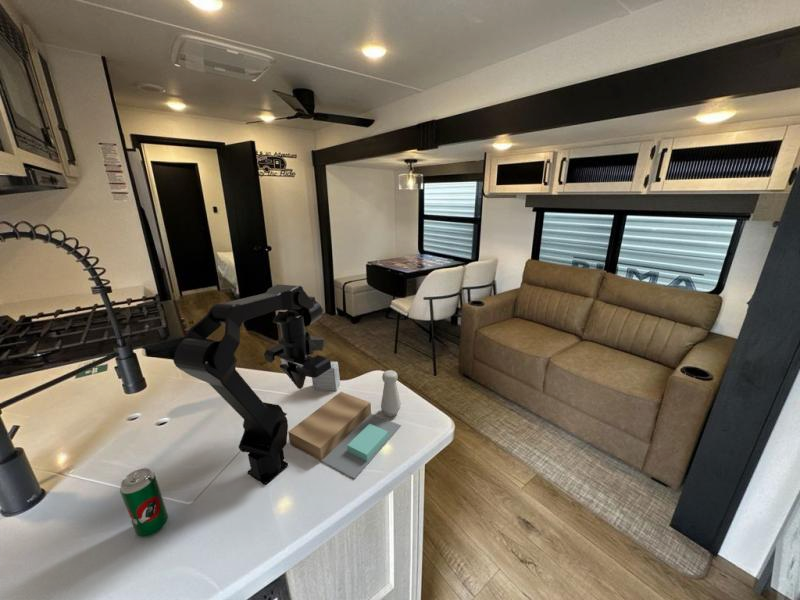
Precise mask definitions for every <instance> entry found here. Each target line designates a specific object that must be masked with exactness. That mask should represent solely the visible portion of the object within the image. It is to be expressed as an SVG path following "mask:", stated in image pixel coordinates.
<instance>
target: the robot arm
mask: <svg viewBox="0 0 800 600" xmlns="http://www.w3.org/2000/svg"><path fill="white" fill-rule="evenodd" d="M273 312H278V313H277V314H276V315H275V316H274V318H273V320H272V322H273V323H274V324H275V323H277V324H279V327H280V337H281V338H279V339H277V340H278V343H277V344H275V345H273V346H271V347H269V348H267V349H266V350H265V351H264V353H263V356H264V360H265V361H267V362H268V363H274V361H275V357H278V358H279V360H280V361H281V364H280V365H279V368H280V369H281V370H282V371H283V372H284V373H285V374H286V376H287V377H288V378H289V379H290V380H291V382H292V383H293V384H294V386H295V387H296V388H297V389H298V390H301V389H303V388H304V385H305V381H306V377H309V378H311V379H312V378H316V377H318V376H319V375H321V374H323V373H324V372H326V371H327V370H329V369H330V368H331V362H332V361H331V359H330V358H328V357H325V356H322V355H319V354H318V355H315V356H314V357H313V356H311V355H314V352H315V351H320V352H322V351H323V350H324V345H325V338H323V337H318V336H316V335H312V334H310V332H308V331H306V328H307V327H309V326H310V325H312V324H313V323H315V322H316V321H318V320H319V319H321V318H322V317H323V314H324V310H323V307H322V305H321V304H320V303H319V302H318V301H316V298H315V296H308V294H307V293H306V291H304V287H303V286H301V285H291V284H280V283H279V284H276V285H274V286H272V287H269V288H268V289H267V291H266V292H264V293H261V294H257V295H256V294H255V295H251V296H247V297H244V298H240V299H235V300H234V299H233V300H231V301H226V302H218V303H215V304H213V305H212V306H211V307H210V309H209V311H208V312H207V313H206V315H205V316H204V317H202V319H200V320H199V321H198V322H196V323H195V324H194V325H193V326H191V327H190V329H188V331H187V332H186V333H185V336H183V338H182V340H181V342H180V343H178V345H177V347H176V349H175V352H174V357H173V358H172V361H173V363H174V365H175V368H177V369H179V370H181V372H184V373H185V374H187V375H189V376H191V377H193V378H195V379H198V380H200V381H202V382H205V383H207V384H209V386H210V387H211V388H213V390H215V392H217V394H219V395H220V396H221V398H223V400H224V401H225V402H226V403H227V404H228V405H229V406H230V407H231V408H232V409H233V410H234V411H235V412H236V413H237V414H238V415H239V416H240V417H241V418H242V419H243V423H242V427H243V429H244V430H243V433H242V437H241V439H240V441H239V444H238V449H239V450H240V451H241V452H242V453H247V457H248V462H249V466H250V469H249V470H248V471H247V475H249V476H250V477H252V478H253V479H255V480H256V481H257V482H259V483H261V484H262V485H263V486H267V485H268V484H269V483H270V482H272V480H274V479H275V478H276V477H277V476H278V475H280V473H282V472H283V471H284V470H285V469H286V468H287V467H289V463H288V462H287V461H285V453H284V448H285V447H286V446H287V443H288V431H289V430H288V429H289V423H288V422H289V421H288V418H287V417H286V415H287V414H288V413H286V412H285V411H284V410H283V408H282V407H281V405H279V404H274V403H270V402H264V401H262V400H261V398H260V397H259V396H258V394H256V392H255V391H254V390H253V389H252V387H251V386H250V385H249V383H247V382H246V380H245V379H244V378H243V376H242V375H241V374H240V373H239V372H238V370H237V369H236V365H237V357H236V356H235V353H236V351H237V349H238V348H239V346H240V342H241V326H242V325H243V323H244V322H246V321H249V320H252V319H256V318H258V317H262V316H265V315H268V314H270V313H273ZM222 325H224V334H223V337H222V339H220V340H217V339H209V336H211V335H212V334H213V333H214V332H216V331H217V330H218V329H219V328H221V327H222ZM305 327H306V328H305Z"/></svg>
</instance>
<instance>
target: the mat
mask: <svg viewBox="0 0 800 600" xmlns="http://www.w3.org/2000/svg"><path fill="white" fill-rule="evenodd" d="M369 424H372V425H374V426H376V427H379V428H381V429H383V430H386V431H388V439H387V440H386V441H385V442H384V444H383V445H382V446H381V447H380V448H379V449H378V450H377V451H376V452H375V454H374V455H373V456H372V457H371V458H370V459H369V460H368V461H365V460H363V459H361V458H359V457H357V456H355V455H353V454H351V453H349V452H348V448H347V445H348V444H349V443H350V442H351V441H352V440H353V439H354V438H355V437H356V436H357V435H358V434H359V433H360V432H361V431H362V430H363V429H365V428H366V427H367V426H368V425H369ZM401 426H402V425H401V424H399V423H396V422H393V421H391V420H389V419H387V418H383V417H381V416H378V415H376V414H373V413H371V414H370V415H369V416H368V417H367V418H366V419H365V420H364V421H363V422H362V423H361V424H360V425H359V426H357V427H356V428H355V429H354V430H353V431H352V432H351V433H350V434H349V435H348V436H347V437H346V438H345V439H344V440H343V441H342V442H341V443H340V444H339V445H338V446H336V447H335V448H334V449H333V450H332V451H331V452H330V453H329V454H328V455H327V456H326V457H325V458H324V459H323V460H322V462H321V463H323V464H325V465H327V466H329V467H330V468H333V469H335V470H337V471H338V472H340V473H342V474H344V475H346V476H348V477H349V478H351V479H353V480H357V477H358V476H359V475H360V474H361V473H362V471H364V469H366V467H367V466H368V465H369V464H370V462H372V460H374V458H375V457H376V455H378V453H379V452H380V451H381V450H382V449H383V447H384V446H385V445H386V444H387V443H388V441H390V439H391V438H392V437H393V436H394V435H395V434H396V433H397V431H398V430H399V429H400V428H401Z"/></svg>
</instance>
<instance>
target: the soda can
mask: <svg viewBox="0 0 800 600" xmlns="http://www.w3.org/2000/svg"><path fill="white" fill-rule="evenodd" d="M119 492H120V495H121V498H122V500H123V503H124V505H125V509H126V511H127V513H128V516H129V519H130V523H131V524H132V527H133V530H134V533H135V535H136V536H137V537H138V538H139V537H140V538H148V537H151V536H153V535H155V534H156V533H158V532H159V531H160V530H162V529H163V528H164V527H165V525H166V523H167V522H168V519H169V513H168V510H167V508H166V505H165V502H164V498H163V495H162V491H161V489H160V486H159V483H158V479H157V477H156V473H155V472H154V471H152V470H151V469H150V468H148V467H143V468H140V469H136V470H134V471H132V472H130V473H128V474H127V475H126V476H125V477H124V478H123V479H122V480H121V483H120V488H119Z"/></svg>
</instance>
